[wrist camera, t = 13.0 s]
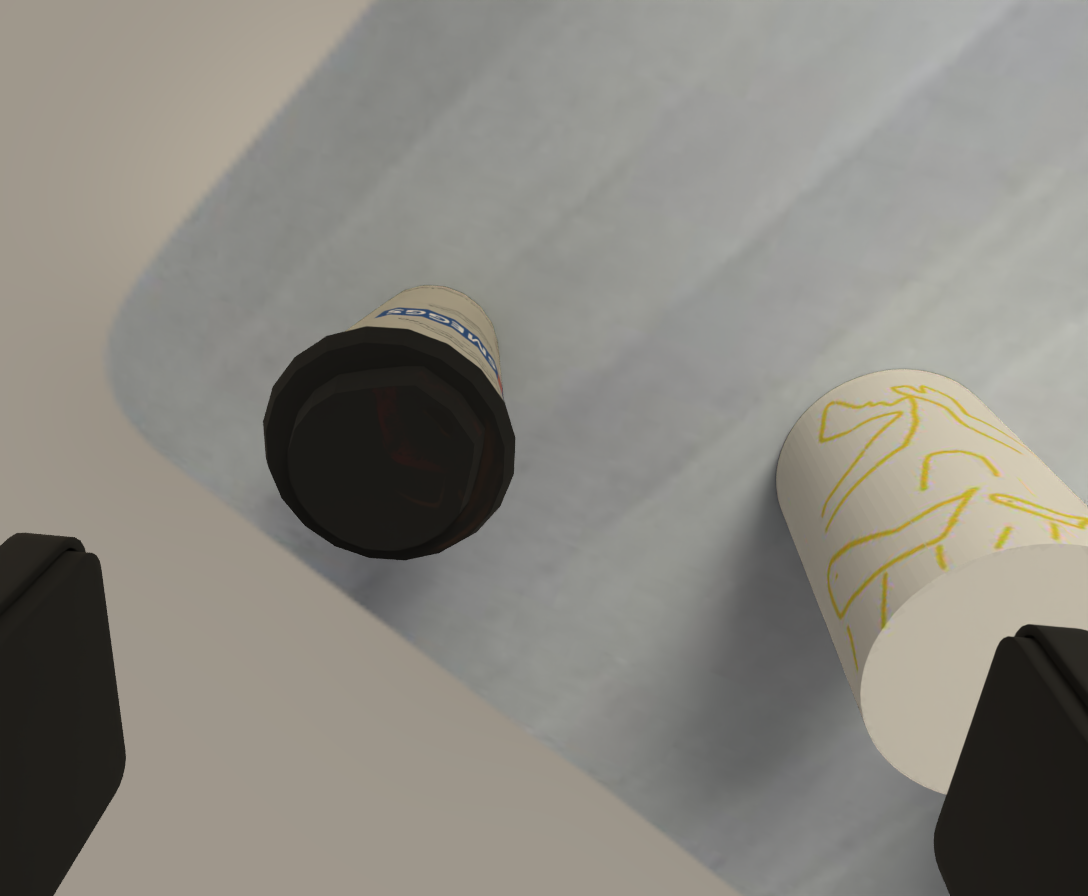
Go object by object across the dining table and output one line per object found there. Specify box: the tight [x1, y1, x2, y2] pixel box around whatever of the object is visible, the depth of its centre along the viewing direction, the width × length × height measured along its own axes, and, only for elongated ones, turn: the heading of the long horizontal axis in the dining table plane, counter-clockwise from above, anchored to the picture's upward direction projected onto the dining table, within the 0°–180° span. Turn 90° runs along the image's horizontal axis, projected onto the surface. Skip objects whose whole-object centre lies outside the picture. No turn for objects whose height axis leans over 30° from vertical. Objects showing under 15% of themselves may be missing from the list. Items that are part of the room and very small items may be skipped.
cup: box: [776, 369, 1088, 795], centre depth 30 cm, size 8×8×12 cm
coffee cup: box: [263, 285, 515, 560], centre depth 29 cm, size 7×7×10 cm
